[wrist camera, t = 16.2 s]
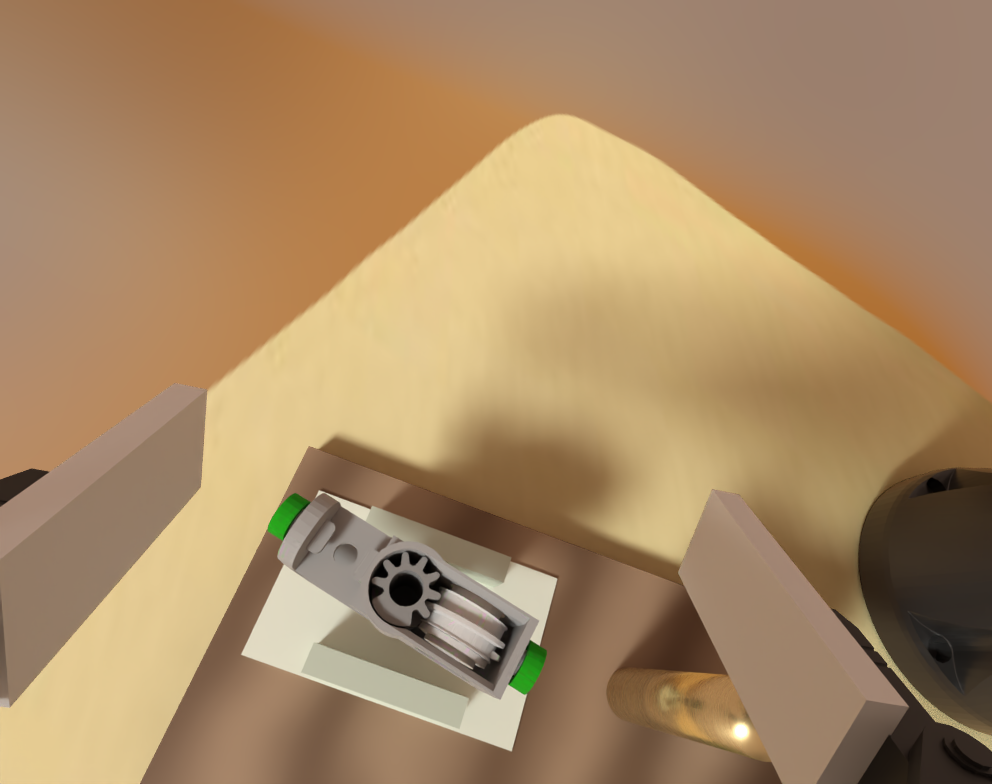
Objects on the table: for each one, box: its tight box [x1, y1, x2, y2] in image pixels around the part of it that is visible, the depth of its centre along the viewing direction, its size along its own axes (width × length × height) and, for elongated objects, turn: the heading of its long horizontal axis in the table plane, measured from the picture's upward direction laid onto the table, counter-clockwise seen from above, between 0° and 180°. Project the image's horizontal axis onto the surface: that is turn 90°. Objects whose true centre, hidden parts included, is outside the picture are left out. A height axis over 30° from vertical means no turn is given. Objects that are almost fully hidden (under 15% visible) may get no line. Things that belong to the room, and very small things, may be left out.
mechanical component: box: [268, 493, 547, 700], centre depth 24 cm, size 3×10×10 cm, turn 60°
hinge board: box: [140, 446, 782, 784], centre depth 24 cm, size 30×16×12 cm, turn 72°
